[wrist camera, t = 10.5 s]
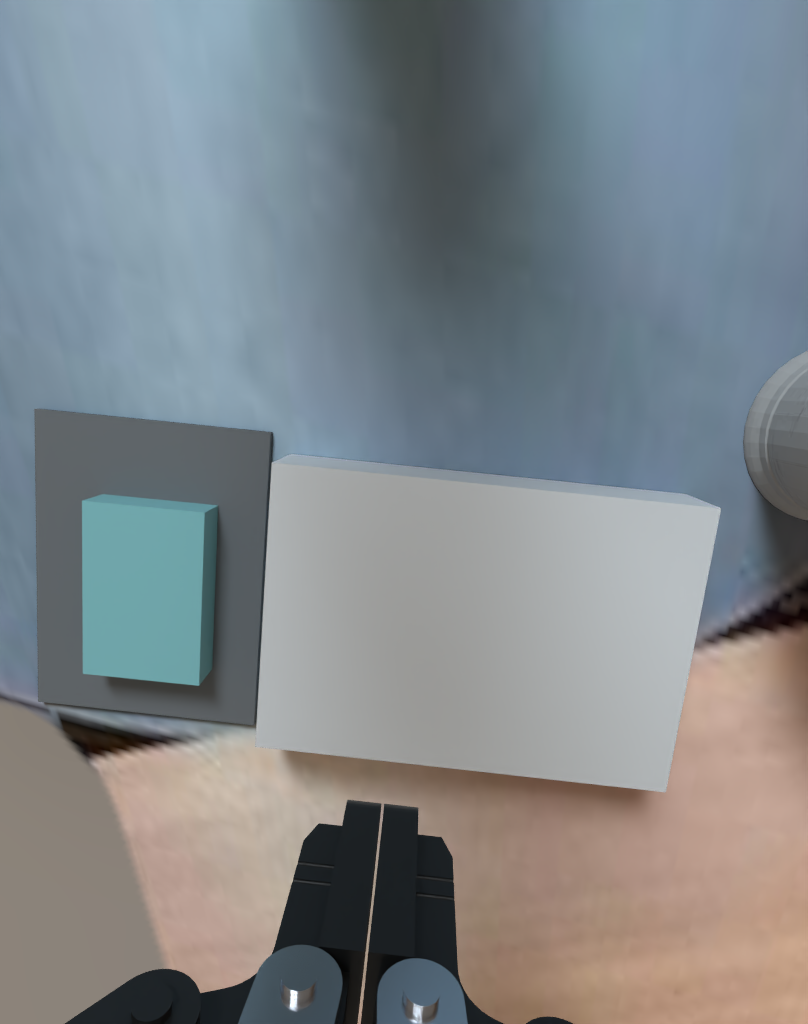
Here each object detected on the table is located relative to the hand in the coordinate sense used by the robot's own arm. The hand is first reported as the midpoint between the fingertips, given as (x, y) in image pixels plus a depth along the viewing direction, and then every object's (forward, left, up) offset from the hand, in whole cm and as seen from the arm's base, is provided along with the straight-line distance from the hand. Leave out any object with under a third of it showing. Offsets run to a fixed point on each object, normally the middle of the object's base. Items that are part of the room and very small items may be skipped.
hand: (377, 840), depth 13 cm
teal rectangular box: (+2, -13, -18) cm, 22 cm away
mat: (+2, -14, -21) cm, 25 cm away
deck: (+2, +3, -21) cm, 21 cm away
